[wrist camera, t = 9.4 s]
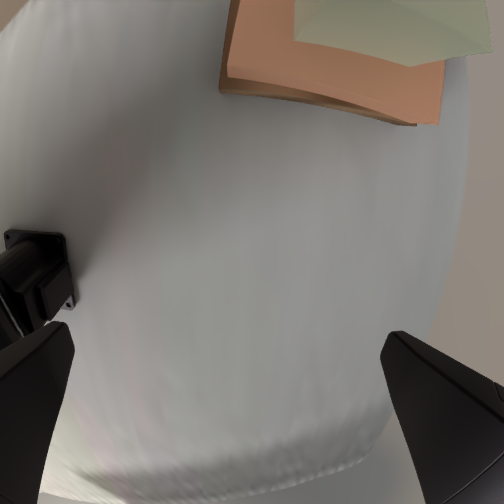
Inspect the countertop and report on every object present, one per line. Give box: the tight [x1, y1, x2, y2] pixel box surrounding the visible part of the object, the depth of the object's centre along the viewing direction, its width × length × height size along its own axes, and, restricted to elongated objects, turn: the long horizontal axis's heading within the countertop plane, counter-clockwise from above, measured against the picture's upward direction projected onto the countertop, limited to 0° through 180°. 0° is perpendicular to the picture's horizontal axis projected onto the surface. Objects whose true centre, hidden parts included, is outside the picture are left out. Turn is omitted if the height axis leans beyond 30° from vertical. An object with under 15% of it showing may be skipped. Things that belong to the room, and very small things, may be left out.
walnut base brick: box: [219, 0, 417, 126], centre depth 13 cm, size 12×12×3 cm
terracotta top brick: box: [227, 0, 445, 125], centre depth 11 cm, size 11×11×3 cm
